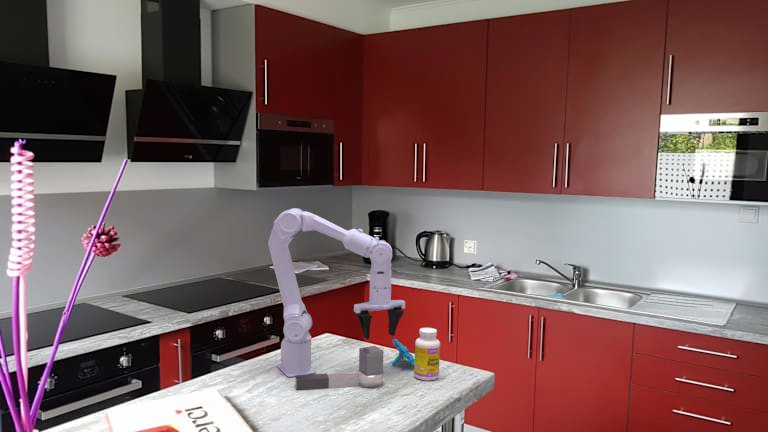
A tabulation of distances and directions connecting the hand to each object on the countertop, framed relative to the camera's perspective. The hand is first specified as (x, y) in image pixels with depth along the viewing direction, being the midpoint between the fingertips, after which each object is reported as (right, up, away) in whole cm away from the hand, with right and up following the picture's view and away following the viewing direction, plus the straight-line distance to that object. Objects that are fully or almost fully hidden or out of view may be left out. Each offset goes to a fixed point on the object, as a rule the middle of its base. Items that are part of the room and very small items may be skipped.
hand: (379, 336), depth 157 cm
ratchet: (-10, -11, -8) cm, 17 cm away
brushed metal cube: (-2, -8, -6) cm, 10 cm away
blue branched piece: (+7, -10, +9) cm, 15 cm away
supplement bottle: (+13, -11, 0) cm, 17 cm away
